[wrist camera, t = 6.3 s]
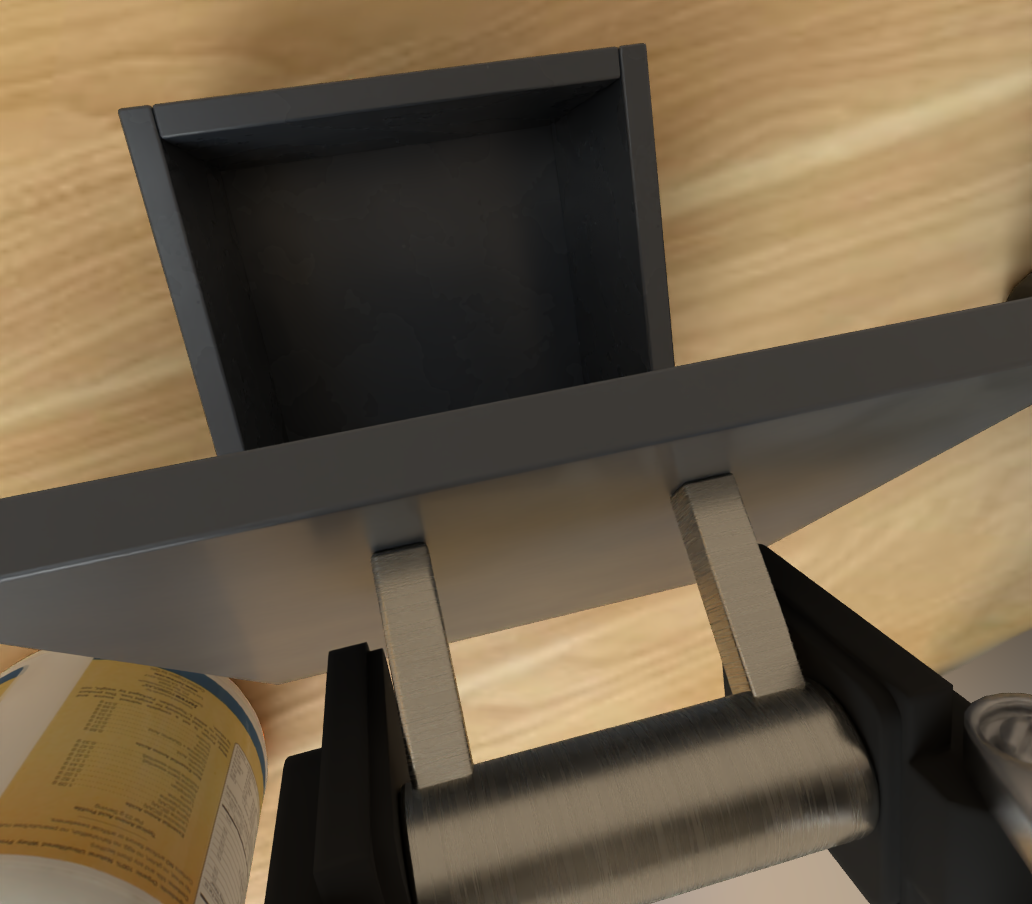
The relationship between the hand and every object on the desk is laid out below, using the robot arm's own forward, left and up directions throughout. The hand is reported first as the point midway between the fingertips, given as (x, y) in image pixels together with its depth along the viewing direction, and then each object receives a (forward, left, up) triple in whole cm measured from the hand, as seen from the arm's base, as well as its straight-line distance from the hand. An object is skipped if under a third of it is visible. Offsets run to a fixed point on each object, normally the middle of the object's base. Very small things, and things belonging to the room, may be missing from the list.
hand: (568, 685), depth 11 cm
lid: (0, 0, -5) cm, 4 cm away
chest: (-3, 0, -20) cm, 20 cm away
